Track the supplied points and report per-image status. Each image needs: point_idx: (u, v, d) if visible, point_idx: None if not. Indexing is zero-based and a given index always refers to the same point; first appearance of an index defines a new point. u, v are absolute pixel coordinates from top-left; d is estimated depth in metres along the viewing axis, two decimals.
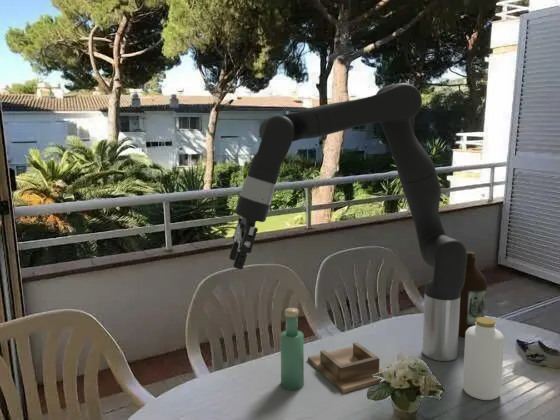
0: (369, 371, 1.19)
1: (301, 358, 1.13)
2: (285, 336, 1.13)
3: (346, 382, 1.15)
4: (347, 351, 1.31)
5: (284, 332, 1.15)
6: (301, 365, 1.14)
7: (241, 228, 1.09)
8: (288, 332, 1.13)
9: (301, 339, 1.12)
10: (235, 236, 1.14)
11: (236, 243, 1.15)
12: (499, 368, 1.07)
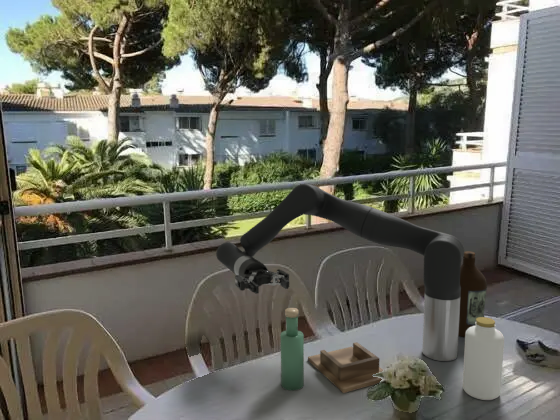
0: (369, 371, 1.19)
1: (301, 358, 1.13)
2: (285, 336, 1.13)
3: (346, 382, 1.15)
4: (347, 351, 1.31)
5: (284, 332, 1.15)
6: (301, 365, 1.14)
7: None
8: (288, 332, 1.13)
9: (301, 339, 1.12)
10: (273, 284, 1.29)
11: (280, 282, 1.28)
12: (499, 368, 1.07)
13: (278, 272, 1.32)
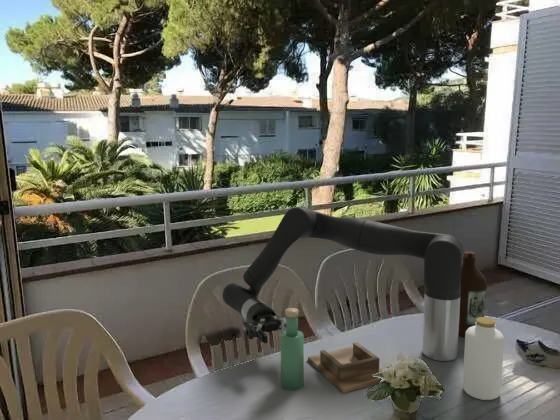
0: (369, 371, 1.19)
1: (301, 358, 1.13)
2: (285, 336, 1.13)
3: (346, 382, 1.15)
4: (347, 351, 1.31)
5: (284, 332, 1.15)
6: (301, 365, 1.14)
7: None
8: (288, 332, 1.13)
9: (301, 339, 1.12)
10: (282, 330, 1.27)
11: None
12: (499, 368, 1.07)
13: None
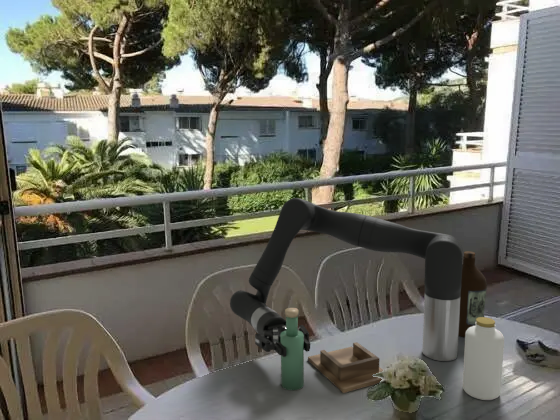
0: (369, 371, 1.19)
1: (301, 358, 1.13)
2: (285, 336, 1.13)
3: (346, 382, 1.15)
4: (347, 351, 1.31)
5: (284, 332, 1.15)
6: (301, 365, 1.14)
7: None
8: (288, 332, 1.13)
9: (301, 339, 1.12)
10: None
11: None
12: (499, 368, 1.07)
13: (299, 329, 1.22)
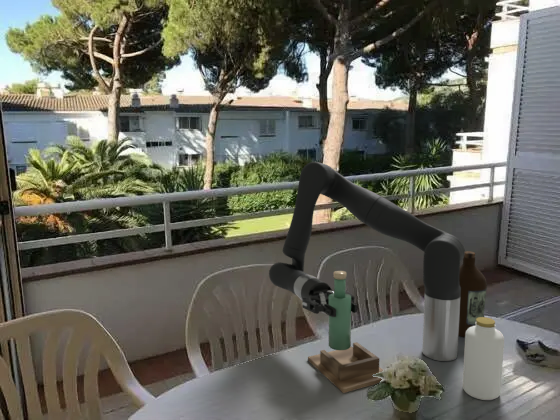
0: (369, 371, 1.19)
1: (349, 319, 1.17)
2: (333, 298, 1.17)
3: (346, 382, 1.15)
4: (347, 351, 1.31)
5: (332, 295, 1.19)
6: (349, 326, 1.17)
7: None
8: (336, 294, 1.16)
9: (349, 300, 1.16)
10: None
11: None
12: (499, 368, 1.07)
13: None
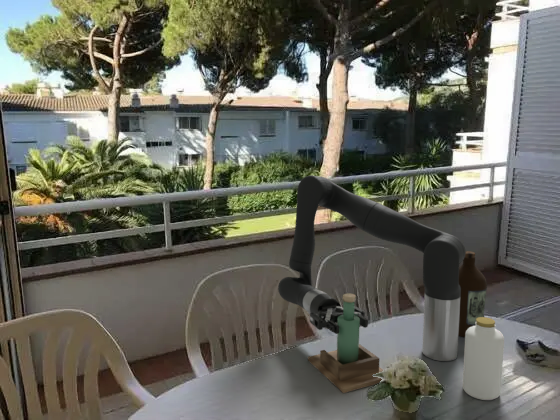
0: (369, 371, 1.19)
1: (357, 341, 1.20)
2: (342, 320, 1.20)
3: (346, 382, 1.15)
4: None
5: (340, 316, 1.22)
6: (357, 347, 1.20)
7: None
8: (345, 316, 1.19)
9: (358, 323, 1.19)
10: None
11: None
12: (499, 368, 1.07)
13: None
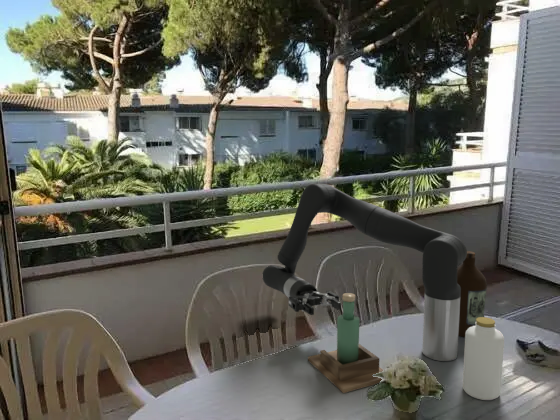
0: (369, 371, 1.19)
1: (357, 340, 1.20)
2: (342, 319, 1.20)
3: (346, 382, 1.15)
4: None
5: (340, 316, 1.22)
6: (357, 347, 1.20)
7: None
8: (345, 316, 1.19)
9: (358, 322, 1.19)
10: (324, 305, 1.37)
11: (331, 303, 1.36)
12: (499, 368, 1.07)
13: (328, 293, 1.40)
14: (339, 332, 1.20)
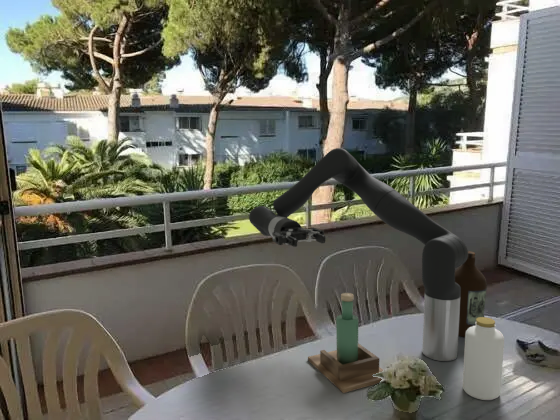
0: (369, 371, 1.19)
1: (356, 340, 1.20)
2: (341, 319, 1.20)
3: (346, 382, 1.15)
4: None
5: (339, 316, 1.22)
6: (356, 347, 1.20)
7: None
8: (344, 316, 1.20)
9: (356, 322, 1.19)
10: (309, 240, 1.34)
11: (316, 238, 1.33)
12: (499, 368, 1.07)
13: (313, 230, 1.37)
14: (338, 332, 1.20)
